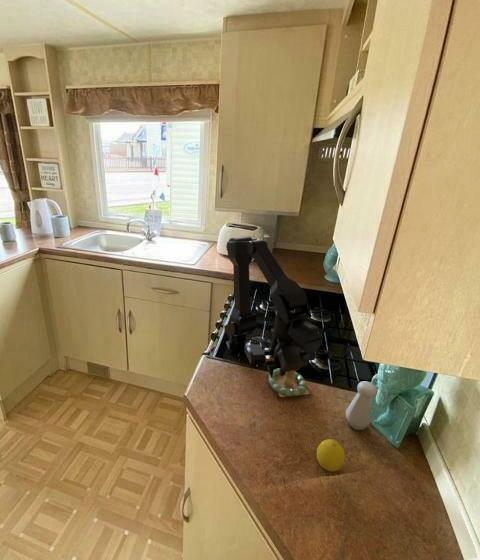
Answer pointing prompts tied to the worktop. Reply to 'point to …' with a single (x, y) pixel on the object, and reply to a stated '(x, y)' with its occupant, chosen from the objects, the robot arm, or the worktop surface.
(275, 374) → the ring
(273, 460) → the worktop surface
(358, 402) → the salt shaker
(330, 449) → the lemon
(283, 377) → the stand
